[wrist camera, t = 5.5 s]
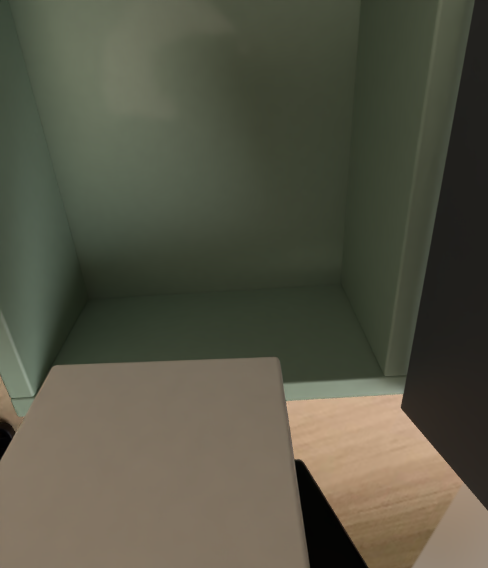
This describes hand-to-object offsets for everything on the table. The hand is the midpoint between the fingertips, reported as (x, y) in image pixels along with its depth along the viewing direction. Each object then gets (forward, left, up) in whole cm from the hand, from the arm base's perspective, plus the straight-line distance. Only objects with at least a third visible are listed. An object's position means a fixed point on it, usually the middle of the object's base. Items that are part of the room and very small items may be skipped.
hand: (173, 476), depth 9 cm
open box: (0, +4, -11) cm, 12 cm away
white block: (0, 0, -1) cm, 1 cm away
